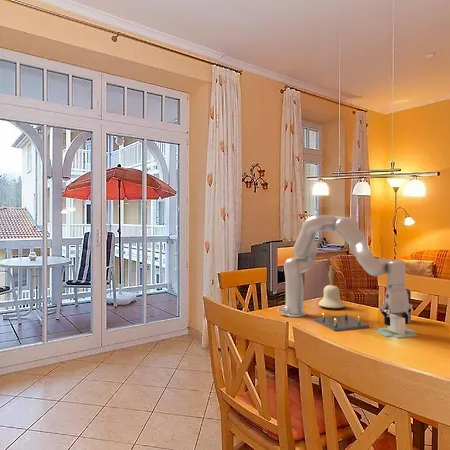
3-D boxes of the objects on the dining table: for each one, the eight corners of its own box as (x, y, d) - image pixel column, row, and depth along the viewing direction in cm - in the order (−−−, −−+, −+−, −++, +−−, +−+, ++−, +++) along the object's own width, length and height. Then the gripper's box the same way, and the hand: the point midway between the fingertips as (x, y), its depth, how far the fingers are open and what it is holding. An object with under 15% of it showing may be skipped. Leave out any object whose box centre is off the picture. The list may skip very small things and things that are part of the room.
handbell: (331, 311, 215) (331, 267, 215) (312, 306, 229) (312, 264, 228) (350, 308, 223) (350, 265, 222) (331, 303, 236) (331, 263, 235)
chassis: (334, 331, 179) (334, 321, 179) (314, 320, 198) (314, 311, 198) (369, 327, 184) (369, 317, 184) (346, 317, 203) (346, 308, 203)
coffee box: (409, 319, 197) (409, 288, 197) (411, 323, 191) (411, 291, 191) (390, 318, 200) (390, 287, 200) (391, 321, 194) (391, 290, 194)
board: (390, 340, 167) (390, 321, 167) (370, 330, 181) (370, 314, 180) (422, 336, 172) (422, 318, 171) (400, 327, 185) (400, 311, 185)
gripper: (385, 289, 170) (385, 328, 170) (417, 287, 174) (417, 324, 175) (374, 287, 177) (374, 323, 177) (405, 284, 181) (405, 320, 182)
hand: (396, 324), depth 176 cm, fingers open, 9 cm apart
